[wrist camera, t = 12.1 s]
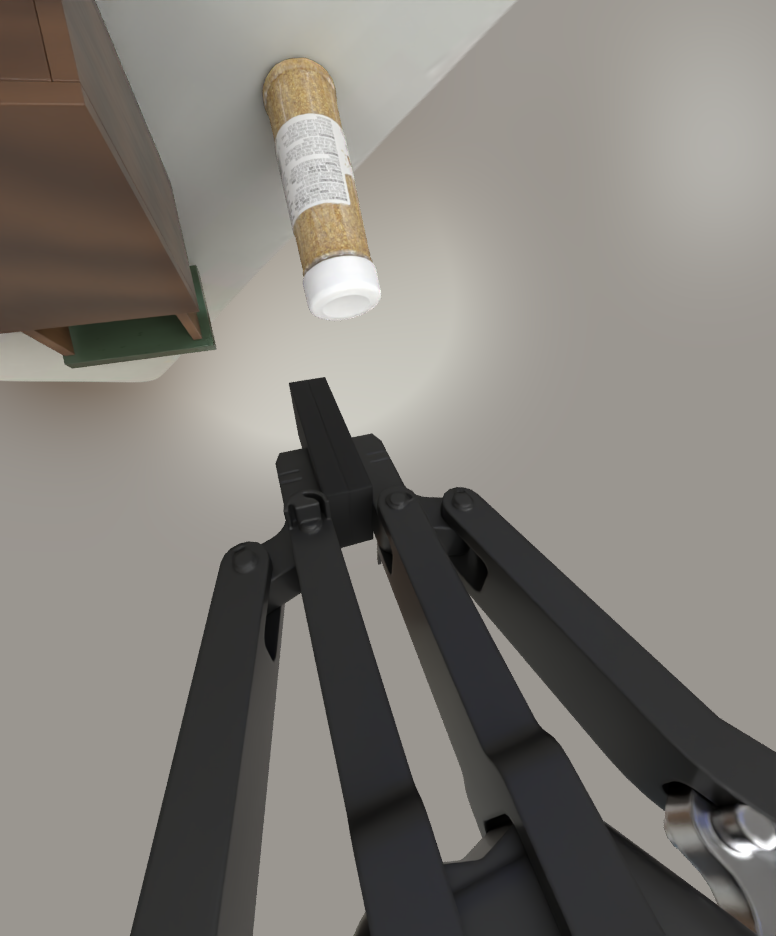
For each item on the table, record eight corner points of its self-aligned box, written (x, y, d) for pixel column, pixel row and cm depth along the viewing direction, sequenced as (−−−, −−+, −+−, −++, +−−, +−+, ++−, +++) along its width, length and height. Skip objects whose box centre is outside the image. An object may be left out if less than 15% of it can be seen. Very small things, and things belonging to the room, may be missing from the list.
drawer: (212, 300, 43) (227, 367, 43) (87, 312, 40) (104, 385, 40) (140, 143, 23) (169, 267, 23) (-115, 145, 20) (-82, 288, 21)
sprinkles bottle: (331, 126, 26) (374, 318, 26) (262, 125, 25) (308, 326, 25) (338, 52, 22) (390, 284, 22) (256, 48, 21) (310, 292, 21)
